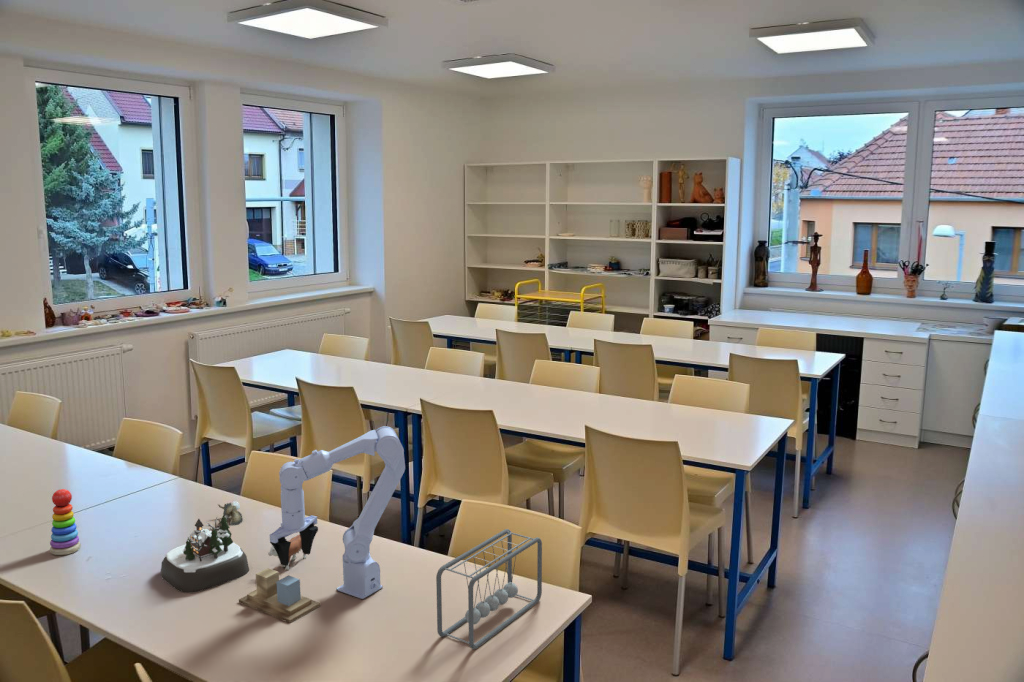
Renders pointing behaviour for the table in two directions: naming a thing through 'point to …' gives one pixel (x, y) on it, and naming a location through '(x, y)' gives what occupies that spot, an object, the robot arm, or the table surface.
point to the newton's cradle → (499, 595)
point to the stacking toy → (63, 525)
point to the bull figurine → (290, 550)
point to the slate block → (288, 590)
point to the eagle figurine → (232, 512)
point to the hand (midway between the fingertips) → (295, 558)
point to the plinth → (279, 606)
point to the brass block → (267, 582)
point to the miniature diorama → (204, 560)
